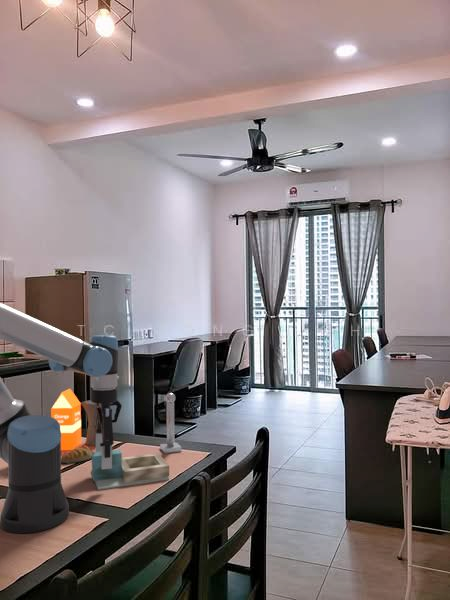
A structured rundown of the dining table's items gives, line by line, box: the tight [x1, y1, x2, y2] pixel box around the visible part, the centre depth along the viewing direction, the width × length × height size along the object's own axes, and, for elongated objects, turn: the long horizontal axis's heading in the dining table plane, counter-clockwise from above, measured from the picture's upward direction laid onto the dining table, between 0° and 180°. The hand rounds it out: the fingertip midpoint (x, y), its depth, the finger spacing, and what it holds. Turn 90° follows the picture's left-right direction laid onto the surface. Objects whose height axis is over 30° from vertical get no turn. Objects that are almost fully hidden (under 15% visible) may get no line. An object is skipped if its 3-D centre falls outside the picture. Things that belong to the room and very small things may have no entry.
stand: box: [159, 392, 183, 454], centre depth 169 cm, size 6×6×20 cm
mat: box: [90, 465, 170, 491], centre depth 144 cm, size 20×16×1 cm
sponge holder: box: [91, 449, 170, 482], centre depth 144 cm, size 21×13×7 cm, turn 112°
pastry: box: [61, 445, 92, 464], centre depth 159 cm, size 9×7×4 cm
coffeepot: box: [80, 399, 123, 447], centre depth 179 cm, size 15×9×18 cm, turn 86°
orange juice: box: [50, 388, 82, 451], centre depth 174 cm, size 8×9×20 cm
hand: (103, 461), depth 141 cm, fingers open, 13 cm apart
